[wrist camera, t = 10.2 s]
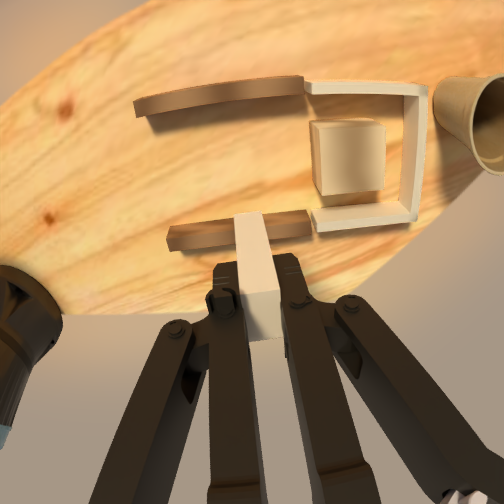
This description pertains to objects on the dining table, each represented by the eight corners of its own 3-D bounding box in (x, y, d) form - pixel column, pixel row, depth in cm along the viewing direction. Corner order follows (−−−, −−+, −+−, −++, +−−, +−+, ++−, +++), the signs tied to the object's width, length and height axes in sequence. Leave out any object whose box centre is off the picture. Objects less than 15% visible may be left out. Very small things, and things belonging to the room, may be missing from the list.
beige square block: (312, 179, 31) (322, 195, 28) (308, 120, 28) (318, 129, 24) (368, 174, 31) (384, 189, 28) (368, 117, 28) (386, 126, 24)
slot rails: (173, 238, 34) (169, 251, 32) (141, 97, 25) (132, 101, 23) (306, 222, 33) (311, 234, 31) (297, 75, 25) (303, 76, 23)
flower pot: (470, 155, 29) (518, 187, 22) (408, 131, 28) (457, 159, 21) (491, 83, 24) (544, 100, 17) (429, 48, 23) (485, 54, 16)
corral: (310, 217, 33) (317, 232, 31) (303, 80, 25) (311, 82, 23) (405, 208, 33) (417, 221, 30) (412, 82, 25) (428, 86, 23)
